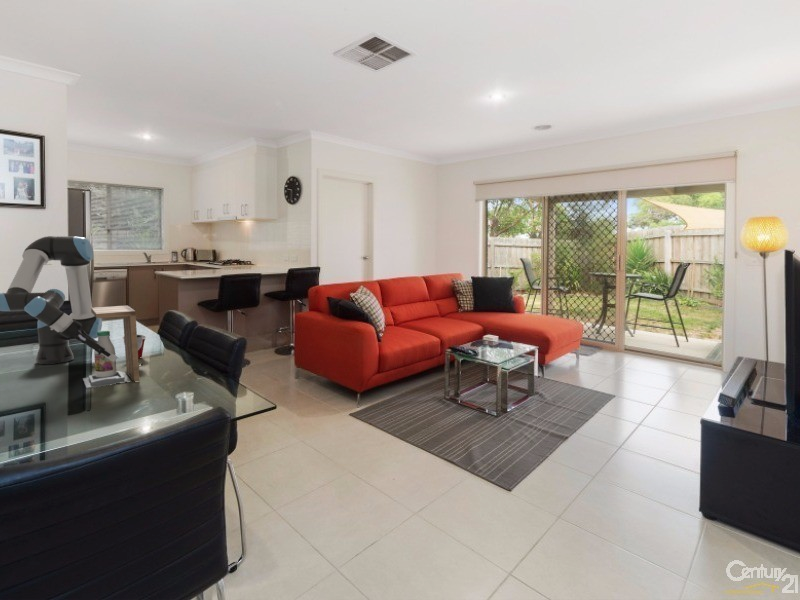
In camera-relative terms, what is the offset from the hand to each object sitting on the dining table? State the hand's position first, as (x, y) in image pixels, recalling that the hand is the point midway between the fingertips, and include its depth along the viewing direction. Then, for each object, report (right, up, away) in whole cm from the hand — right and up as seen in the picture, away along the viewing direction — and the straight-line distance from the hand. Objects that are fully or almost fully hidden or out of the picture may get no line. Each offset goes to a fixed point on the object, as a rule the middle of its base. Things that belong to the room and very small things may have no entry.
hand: (114, 357), depth 194 cm
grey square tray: (-3, -10, -1) cm, 11 cm away
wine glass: (-5, -7, +23) cm, 25 cm away
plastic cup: (-13, -5, +36) cm, 39 cm away
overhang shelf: (0, -10, +2) cm, 10 cm away
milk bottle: (-3, -8, -1) cm, 8 cm away
